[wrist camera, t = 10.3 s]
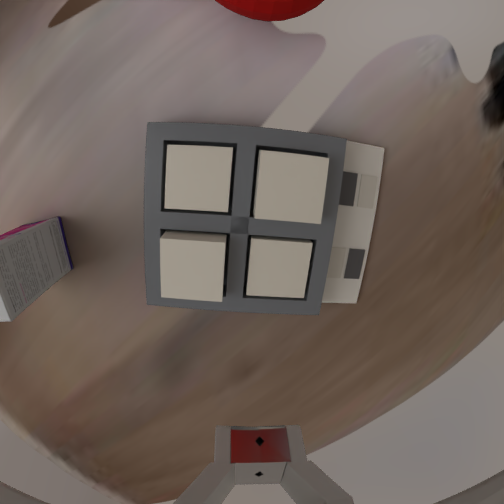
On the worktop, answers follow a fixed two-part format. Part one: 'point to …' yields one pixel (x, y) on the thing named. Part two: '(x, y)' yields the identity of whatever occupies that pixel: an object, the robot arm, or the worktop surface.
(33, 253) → the supplement box
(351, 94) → the worktop surface
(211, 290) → the button
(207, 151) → the button
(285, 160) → the button
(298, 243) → the button
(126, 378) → the worktop surface
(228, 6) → the tomato
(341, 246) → the button board
